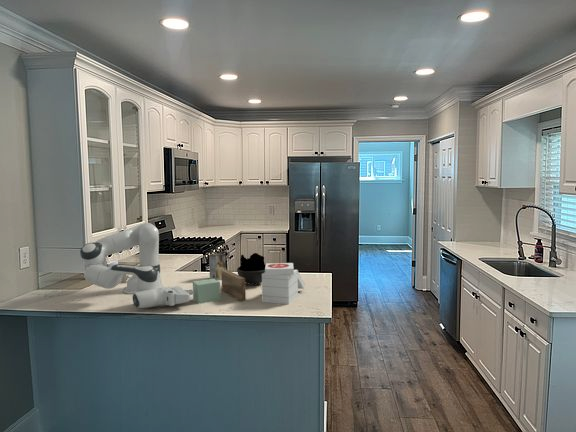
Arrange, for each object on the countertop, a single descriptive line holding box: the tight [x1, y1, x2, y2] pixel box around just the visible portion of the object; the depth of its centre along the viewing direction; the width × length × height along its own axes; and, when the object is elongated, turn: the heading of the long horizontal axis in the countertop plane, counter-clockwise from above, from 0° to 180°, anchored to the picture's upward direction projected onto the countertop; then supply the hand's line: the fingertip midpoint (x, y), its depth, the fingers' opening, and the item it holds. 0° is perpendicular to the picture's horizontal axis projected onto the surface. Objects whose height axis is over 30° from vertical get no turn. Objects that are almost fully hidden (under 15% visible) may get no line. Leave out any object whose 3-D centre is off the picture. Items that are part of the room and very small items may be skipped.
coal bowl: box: [236, 252, 266, 286], centre depth 266 cm, size 20×20×19 cm
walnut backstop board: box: [221, 269, 247, 302], centre depth 242 cm, size 3×26×12 cm, turn 30°
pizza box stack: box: [261, 262, 306, 305], centre depth 238 cm, size 19×30×18 cm, turn 160°
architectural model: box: [120, 274, 131, 284], centre depth 277 cm, size 3×7×7 cm, turn 52°
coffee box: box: [208, 252, 227, 281], centre depth 282 cm, size 9×6×16 cm
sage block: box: [192, 278, 221, 304], centre depth 234 cm, size 12×9×10 cm
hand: (193, 291), depth 230 cm, fingers closed
